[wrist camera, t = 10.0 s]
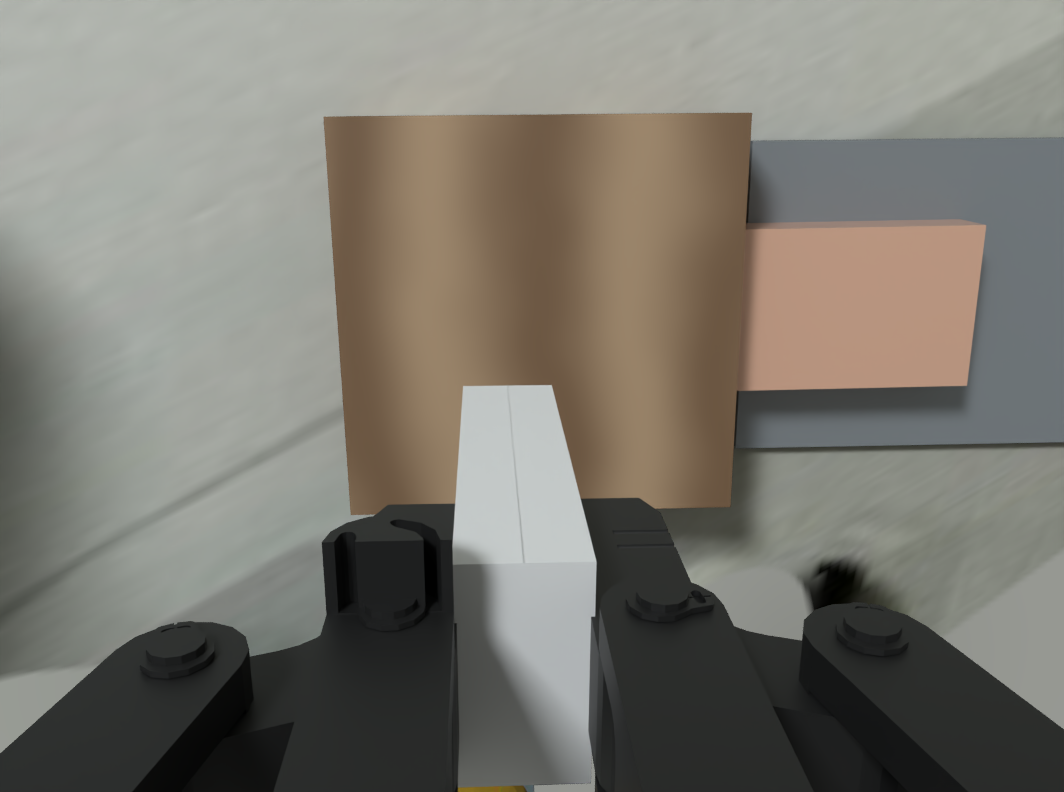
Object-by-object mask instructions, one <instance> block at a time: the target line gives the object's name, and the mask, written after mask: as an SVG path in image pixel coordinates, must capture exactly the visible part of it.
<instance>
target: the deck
mask: <svg viewBox="0 0 1064 792" xmlns="http://www.w3.org/2000/svg"><path fill="white" fill-rule="evenodd" d="M751 121H752V113H670V114H562V115H454V116H346V117H324V130H325V145H326V159H327V174H328V188H329V203H330V218H331V232H332V247H333V261H334V276H335V291H336V305H337V320H338V334H339V349H340V364H341V378H342V393H343V407H344V422H345V437H346V451H347V466H348V481H349V495H350V510H351V515H368V514H377V513H378V512H380V511H381V510H382V509H383V508H384V507H386V506H387V505H395V504H454V503H455V500H456V485H457V470H458V455H459V440H460V425H461V410H462V395H463V386H513V385H552V388H553V392H554V396H555V400H556V404H557V408H558V412H559V416H560V420H561V424H562V428H563V432H564V435H565V439H566V443H567V447H568V451H569V455H570V459H571V463H572V467H573V471H574V475H575V479H576V483H577V487H578V491H579V495H580V498H581V499H588V498H640V499H642V500H643V501H644V502H646V503H647V504H649V505H650V506H652V507H653V508H655V509H659V508H708V507H730V504H731V486H732V468H733V449H734V431H735V413H736V395H737V376H738V358H739V340H740V322H741V303H742V285H743V267H744V249H745V230H746V212H747V194H748V176H749V157H750V139H751Z"/></svg>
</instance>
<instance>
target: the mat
mask: <svg viewBox="0 0 1064 792" xmlns="http://www.w3.org/2000/svg"><path fill="white" fill-rule="evenodd" d="M944 219H962V220H966V221H971V222H975V223H979V224H984V225H986V232H985V240H984V248H983V257H982V265H981V273H980V281H979V290H978V298H977V306H976V314H975V323H974V331H973V339H972V348H971V356H970V364H969V372H968V381H967V386H932V387H888V388H844V389H799V390H755V391H737V395H736V413H735V431H734V447H735V448H779V447H832V446H885V445H938V444H991V443H1044V442H1064V138H977V139H877V140H778V141H750V157H749V176H748V194H747V212H746V223H777V222H832V221H888V220H944Z"/></svg>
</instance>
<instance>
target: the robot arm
mask: <svg viewBox="0 0 1064 792" xmlns="http://www.w3.org/2000/svg"><path fill="white" fill-rule="evenodd" d="M322 552H323V567H324V582H325V597H326V612H327V615H326V619H325V622H324V625H323V629H322V632H321V635H320V636H319V637H317V638H315V639H313V640H311V641H308V642H306V643H303V644H301V645H299V646H295V647H291V648H288V649H284V650H280V651H276V652H271V653H266V654H261V655H256V656H251V657H250V655H249V648H248V644H247V640H246V637H245V636H244V635H243V634H241V633H240V632H238V631H237V630H236V629H234V628H233V627H229V626H225V625H221V624H217V623H213V622H192V621H188V622H179V623H177V624H176V625H174V623H173V624H169V625H165V626H161V627H158V628H157V629H155V630H153V631H150V632H147V633H145V634H142V635H139V636H137V637H135V638H133V639H132V640H130V641H129V642H127V643H126V644H124V645H123V646H121V647H120V648H118V649H117V650H115V651H114V652H113V653H112V654H111V655H110V656H109V657H107V658H106V659H105V660H104V661H103V662H102V663H101V664H100V665H99V666H97V667H96V668H95V669H94V670H93V671H92V672H91V673H90V674H88V675H87V676H86V677H85V678H84V679H83V680H82V681H81V682H80V683H78V684H77V685H76V686H75V687H74V688H73V689H72V690H71V691H70V692H68V693H67V694H66V695H65V696H64V697H63V698H62V699H61V700H59V701H58V702H57V703H56V704H55V705H54V706H53V707H52V708H51V709H50V710H48V711H47V712H46V713H45V714H44V715H43V716H42V717H40V718H39V719H38V720H37V721H36V722H35V723H34V724H33V725H32V726H31V727H29V728H28V729H27V730H26V731H25V732H24V733H23V734H22V735H20V736H19V737H18V738H17V739H16V740H15V741H14V742H13V743H12V744H10V745H9V746H8V747H7V748H6V749H5V750H4V751H3V752H2V753H0V792H458V787H490V786H521V785H552V784H583V783H591V761H592V760H591V759H592V756H593V761H594V767H595V792H1064V729H1063V728H1061V727H1060V726H1058V725H1057V724H1056V723H1054V722H1053V721H1052V720H1050V719H1049V718H1048V717H1046V716H1045V715H1044V714H1042V713H1041V712H1040V711H1039V710H1037V709H1036V708H1034V707H1033V706H1032V705H1031V704H1029V703H1028V702H1027V701H1025V700H1024V699H1023V698H1021V697H1020V696H1019V695H1017V694H1016V693H1015V692H1013V691H1012V690H1010V689H1009V688H1008V687H1007V686H1005V685H1004V684H1003V683H1001V682H1000V681H999V680H997V679H996V678H995V677H993V676H992V675H991V674H989V673H988V672H987V671H985V670H984V669H983V668H981V667H980V666H979V665H977V664H976V663H975V662H973V661H972V660H971V659H970V658H968V657H967V656H966V655H964V654H963V653H962V652H960V651H959V650H958V649H956V648H955V647H953V646H952V645H951V644H950V643H948V642H947V641H946V640H944V639H943V638H942V637H940V636H939V635H938V634H936V633H935V632H934V631H932V630H931V629H930V628H928V627H927V626H925V625H923V624H922V623H920V622H918V621H916V620H915V619H913V618H911V617H909V616H908V615H905V614H902V613H899V612H896V611H893V610H890V609H888V608H886V607H884V606H880V605H875V604H870V605H867V603H857V602H855V603H851V604H833V605H830V606H826V607H823V608H820V609H817V610H814V611H813V612H812V613H811V614H810V615H809V616H808V617H807V618H806V619H805V620H804V627H803V639H802V641H800V640H794V639H787V638H781V637H774V636H768V635H763V634H758V633H754V632H749V631H746V630H743V629H740V628H737V627H734V626H733V623H732V621H731V620H730V617H729V616H728V613H727V611H726V609H725V607H724V605H723V604H722V603H721V601H720V600H719V599H718V598H717V597H716V596H715V595H714V593H712V592H710V591H708V590H706V589H704V588H702V587H701V586H699V585H697V584H694V583H691V581H690V579H689V577H688V574H687V572H686V570H685V568H684V565H683V563H682V561H681V559H680V556H679V554H678V552H677V549H676V547H674V543H673V540H672V538H671V536H670V534H669V533H668V529H667V527H666V525H665V522H664V520H663V518H662V516H661V513H660V512H659V511H657V510H656V509H655V508H653V507H652V506H650V505H649V504H647V503H646V502H644V501H643V500H642V499H640V498H588V499H581V498H580V495H579V491H578V487H577V483H576V479H575V475H574V471H573V467H572V463H571V459H570V455H569V451H568V447H567V443H566V439H565V435H564V432H563V428H562V424H561V420H560V416H559V412H558V408H557V404H556V400H555V396H554V392H553V388H552V385H513V386H463V395H462V410H461V425H460V440H459V455H458V470H457V485H456V500H455V503H454V504H395V505H387V506H386V507H384V508H383V509H382V510H381V511H380V512H378V513H377V514H376V515H375V516H373V517H367V518H363V519H360V520H356V521H352V522H348V523H346V524H344V525H342V526H340V527H338V528H337V529H335V530H333V531H331V532H330V533H329V534H328V535H327V537H326V538H325V539H324V540H323V542H322Z"/></svg>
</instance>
